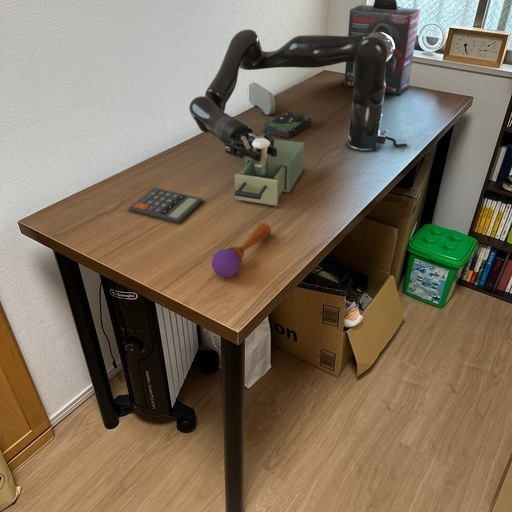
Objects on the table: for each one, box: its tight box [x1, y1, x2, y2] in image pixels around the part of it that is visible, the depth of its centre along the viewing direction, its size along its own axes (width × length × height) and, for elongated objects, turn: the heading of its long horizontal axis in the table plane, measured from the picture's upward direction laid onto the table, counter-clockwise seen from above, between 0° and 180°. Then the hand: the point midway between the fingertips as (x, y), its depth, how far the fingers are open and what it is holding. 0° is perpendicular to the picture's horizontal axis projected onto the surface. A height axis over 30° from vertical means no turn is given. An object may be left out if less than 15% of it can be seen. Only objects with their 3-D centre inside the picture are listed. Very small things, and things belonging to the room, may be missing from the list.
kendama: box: [211, 222, 272, 278], centre depth 108 cm, size 6×6×20 cm
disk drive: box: [263, 111, 312, 138], centre depth 169 cm, size 10×3×15 cm
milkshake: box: [252, 137, 274, 175], centre depth 125 cm, size 4×5×10 cm
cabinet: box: [244, 138, 305, 193], centre depth 138 cm, size 14×13×9 cm
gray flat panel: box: [248, 82, 276, 116], centre depth 183 cm, size 20×2×8 cm, turn 26°
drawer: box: [233, 161, 287, 207], centre depth 128 cm, size 19×11×7 cm, turn 161°
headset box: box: [343, 0, 421, 95], centre depth 196 cm, size 25×12×33 cm, turn 57°
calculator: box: [129, 187, 203, 224], centre depth 128 cm, size 12×1×15 cm
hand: (267, 155), depth 122 cm, fingers closed on milkshake, 4 cm apart
